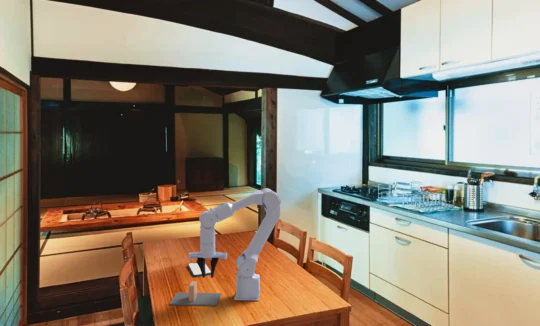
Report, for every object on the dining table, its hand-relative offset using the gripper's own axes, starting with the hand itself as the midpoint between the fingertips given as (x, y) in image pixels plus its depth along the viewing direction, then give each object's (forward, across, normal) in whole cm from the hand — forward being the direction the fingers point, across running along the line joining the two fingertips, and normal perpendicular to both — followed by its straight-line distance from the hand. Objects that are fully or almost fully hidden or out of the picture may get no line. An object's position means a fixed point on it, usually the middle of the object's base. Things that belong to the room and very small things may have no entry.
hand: (208, 276), depth 140 cm
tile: (+9, +6, 0) cm, 11 cm away
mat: (+9, +5, 0) cm, 11 cm away
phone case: (+10, +11, -32) cm, 35 cm away
